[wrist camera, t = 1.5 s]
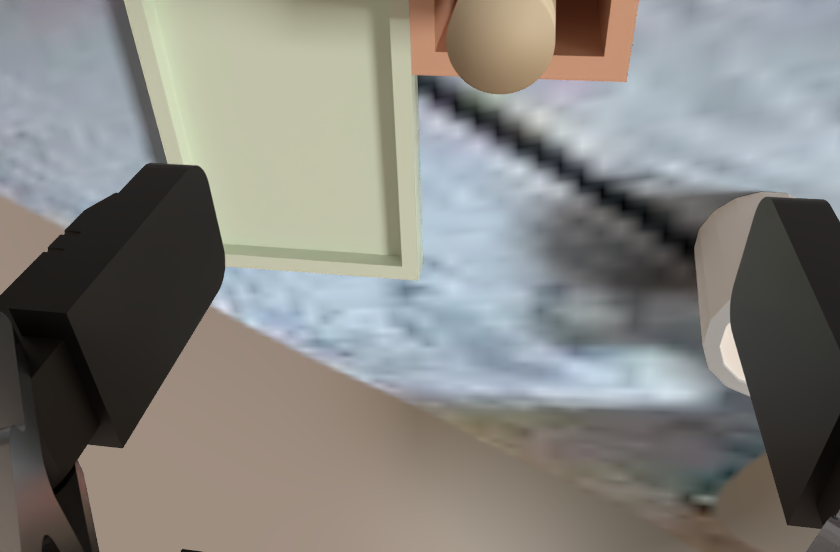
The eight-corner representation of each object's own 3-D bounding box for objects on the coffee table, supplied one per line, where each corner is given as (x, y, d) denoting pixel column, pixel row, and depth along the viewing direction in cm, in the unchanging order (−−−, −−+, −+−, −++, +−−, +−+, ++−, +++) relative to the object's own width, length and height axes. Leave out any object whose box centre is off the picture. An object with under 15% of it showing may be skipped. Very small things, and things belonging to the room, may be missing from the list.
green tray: (131, -46, 30) (114, -36, 29) (413, -43, 29) (407, -33, 27) (205, 247, 39) (194, 264, 38) (422, 263, 38) (418, 280, 36)
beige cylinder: (658, 281, 36) (675, 381, 31) (718, 163, 32) (751, 254, 26) (791, 313, 36) (833, 419, 31) (869, 200, 32) (934, 299, 26)
